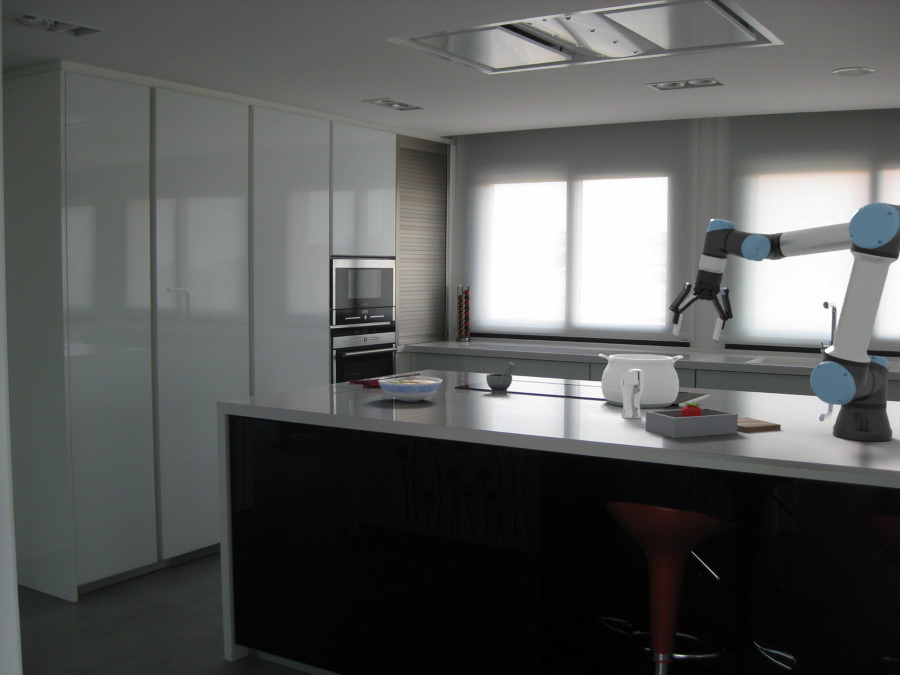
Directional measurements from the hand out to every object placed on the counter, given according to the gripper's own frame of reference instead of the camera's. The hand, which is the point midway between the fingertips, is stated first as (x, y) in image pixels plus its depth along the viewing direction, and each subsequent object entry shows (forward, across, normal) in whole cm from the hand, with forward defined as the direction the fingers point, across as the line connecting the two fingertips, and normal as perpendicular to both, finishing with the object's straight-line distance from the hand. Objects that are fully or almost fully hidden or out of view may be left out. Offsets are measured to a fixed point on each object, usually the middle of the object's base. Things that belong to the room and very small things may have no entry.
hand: (695, 337), depth 274 cm
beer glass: (+28, +15, -1) cm, 32 cm away
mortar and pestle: (+43, +41, -59) cm, 84 cm away
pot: (+32, 0, -28) cm, 43 cm away
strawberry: (+22, +8, +26) cm, 35 cm away
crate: (+22, +8, +26) cm, 35 cm away
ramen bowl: (+44, +78, -44) cm, 100 cm away
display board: (+21, -12, +20) cm, 31 cm away
